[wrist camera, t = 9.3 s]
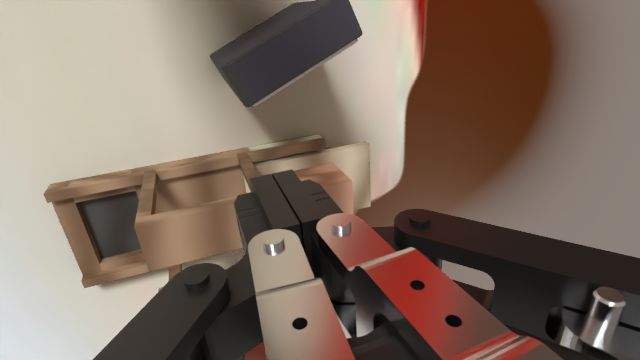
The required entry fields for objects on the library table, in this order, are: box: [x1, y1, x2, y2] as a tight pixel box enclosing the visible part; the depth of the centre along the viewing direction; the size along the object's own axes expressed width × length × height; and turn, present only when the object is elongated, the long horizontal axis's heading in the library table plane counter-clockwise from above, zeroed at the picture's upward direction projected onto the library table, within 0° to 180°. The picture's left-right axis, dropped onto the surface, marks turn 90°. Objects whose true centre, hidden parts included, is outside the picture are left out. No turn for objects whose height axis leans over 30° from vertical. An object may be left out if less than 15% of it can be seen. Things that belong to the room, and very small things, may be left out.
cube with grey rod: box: [242, 142, 371, 215], centre depth 40 cm, size 16×9×19 cm, turn 95°
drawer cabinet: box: [44, 134, 326, 291], centre depth 41 cm, size 30×12×14 cm, turn 95°
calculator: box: [210, 0, 362, 107], centre depth 35 cm, size 11×4×15 cm, turn 119°
